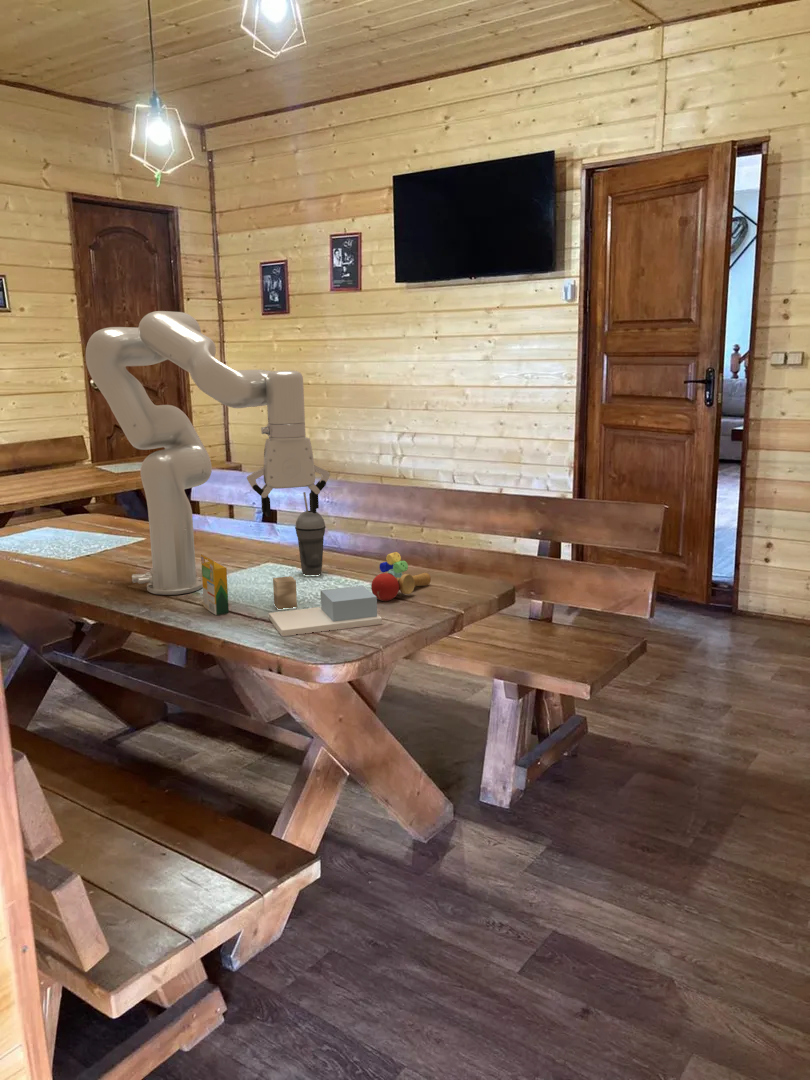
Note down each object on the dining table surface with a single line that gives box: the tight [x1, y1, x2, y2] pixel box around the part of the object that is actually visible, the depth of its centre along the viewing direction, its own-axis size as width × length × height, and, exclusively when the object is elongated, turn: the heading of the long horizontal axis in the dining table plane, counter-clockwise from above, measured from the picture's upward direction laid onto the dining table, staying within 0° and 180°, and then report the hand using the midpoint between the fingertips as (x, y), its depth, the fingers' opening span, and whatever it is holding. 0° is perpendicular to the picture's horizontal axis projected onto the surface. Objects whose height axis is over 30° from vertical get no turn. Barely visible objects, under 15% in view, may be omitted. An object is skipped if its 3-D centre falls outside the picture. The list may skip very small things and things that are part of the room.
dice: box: [379, 551, 409, 578], centre depth 205 cm, size 8×3×6 cm, turn 41°
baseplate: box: [268, 585, 383, 637], centre depth 173 cm, size 20×12×5 cm, turn 111°
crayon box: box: [200, 553, 230, 616], centre depth 181 cm, size 7×3×12 cm, turn 33°
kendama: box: [370, 572, 431, 602], centre depth 193 cm, size 8×6×18 cm
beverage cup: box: [294, 491, 327, 575], centre depth 208 cm, size 7×7×20 cm
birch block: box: [272, 575, 298, 609], centre depth 184 cm, size 4×4×6 cm
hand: (290, 513), depth 183 cm, fingers open, 9 cm apart
